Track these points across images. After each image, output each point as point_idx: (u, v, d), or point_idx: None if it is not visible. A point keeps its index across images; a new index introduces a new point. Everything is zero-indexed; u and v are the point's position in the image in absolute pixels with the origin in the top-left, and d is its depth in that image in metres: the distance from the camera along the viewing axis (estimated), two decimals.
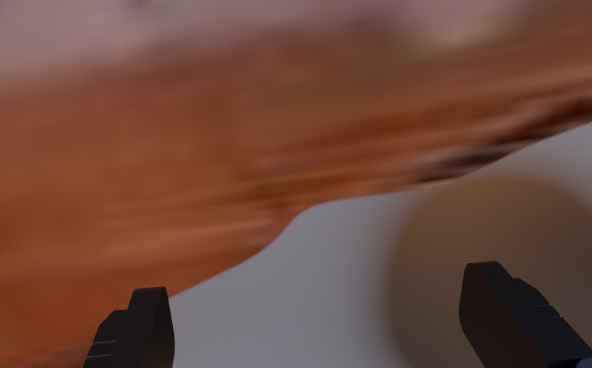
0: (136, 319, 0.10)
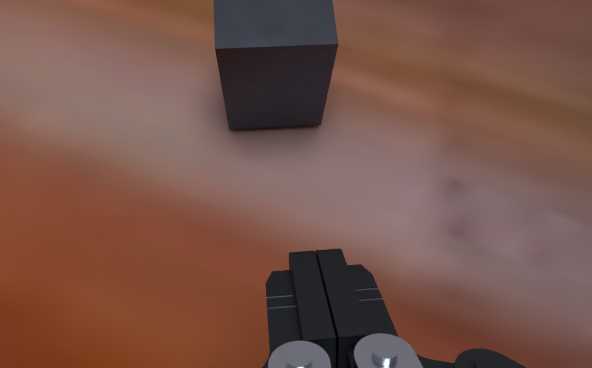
0: (304, 276, 0.12)
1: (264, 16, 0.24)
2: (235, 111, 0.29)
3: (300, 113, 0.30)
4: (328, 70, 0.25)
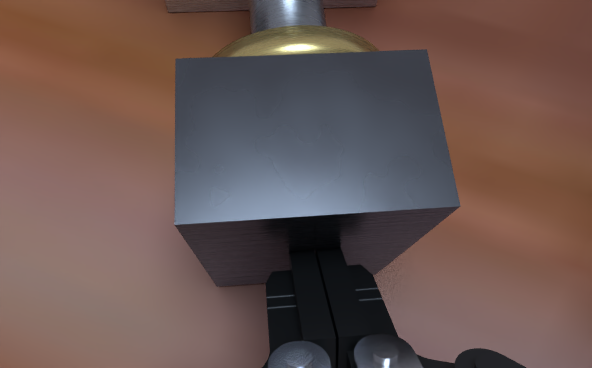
0: (304, 276, 0.12)
1: (289, 137, 0.10)
2: (226, 274, 0.15)
3: None
4: (418, 233, 0.12)
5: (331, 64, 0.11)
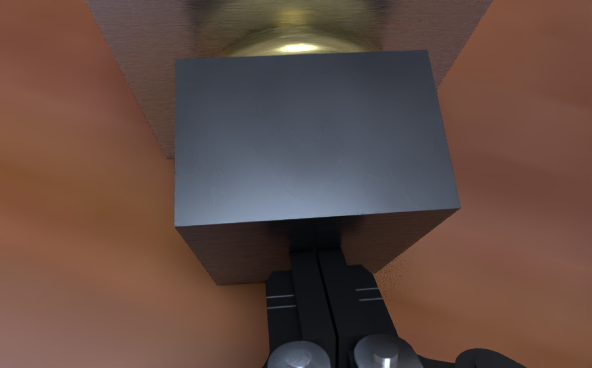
0: (304, 276, 0.12)
1: (289, 139, 0.10)
2: (227, 273, 0.15)
3: None
4: (419, 234, 0.12)
5: (331, 64, 0.11)
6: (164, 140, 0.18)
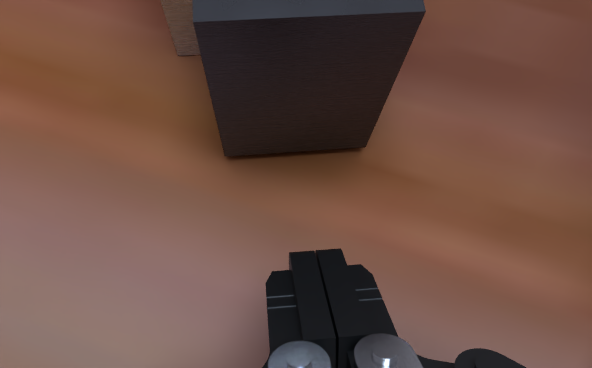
0: (304, 276, 0.12)
1: None
2: (233, 131, 0.18)
3: (337, 132, 0.19)
4: (395, 62, 0.14)
5: None
6: (176, 31, 0.20)
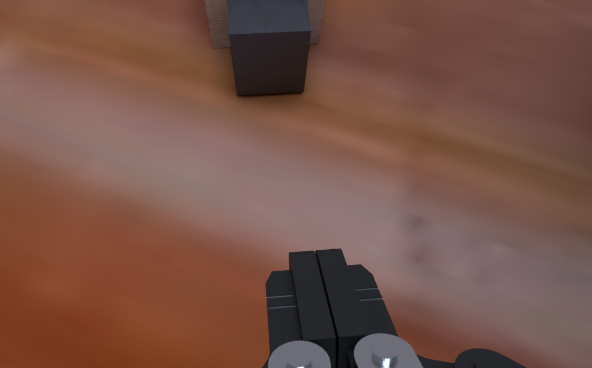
0: (304, 276, 0.12)
1: (261, 12, 0.35)
2: (241, 80, 0.40)
3: (288, 82, 0.41)
4: (305, 49, 0.37)
5: None
6: (213, 36, 0.43)
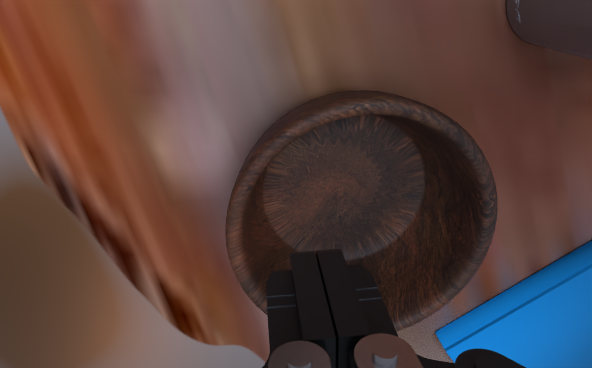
0: (304, 276, 0.12)
1: None
2: None
3: None
4: None
5: None
6: None
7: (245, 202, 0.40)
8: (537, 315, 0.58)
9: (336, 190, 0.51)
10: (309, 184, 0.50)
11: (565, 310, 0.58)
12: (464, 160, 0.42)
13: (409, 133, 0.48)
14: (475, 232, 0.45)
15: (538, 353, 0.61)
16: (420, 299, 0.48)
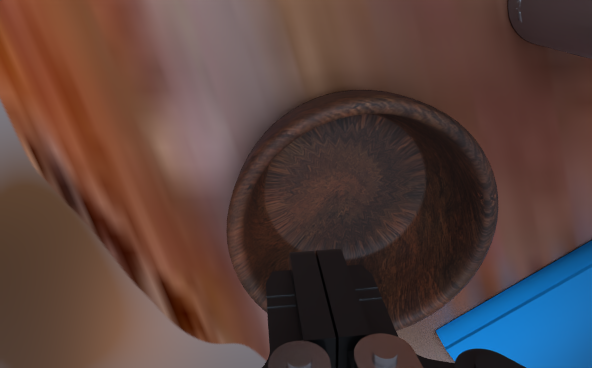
0: (304, 276, 0.12)
1: None
2: None
3: None
4: None
5: None
6: None
7: (246, 201, 0.40)
8: (538, 314, 0.58)
9: (337, 189, 0.51)
10: (310, 183, 0.51)
11: (565, 309, 0.58)
12: (465, 159, 0.42)
13: (411, 132, 0.48)
14: (476, 231, 0.45)
15: (538, 352, 0.61)
16: (421, 298, 0.48)
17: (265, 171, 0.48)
